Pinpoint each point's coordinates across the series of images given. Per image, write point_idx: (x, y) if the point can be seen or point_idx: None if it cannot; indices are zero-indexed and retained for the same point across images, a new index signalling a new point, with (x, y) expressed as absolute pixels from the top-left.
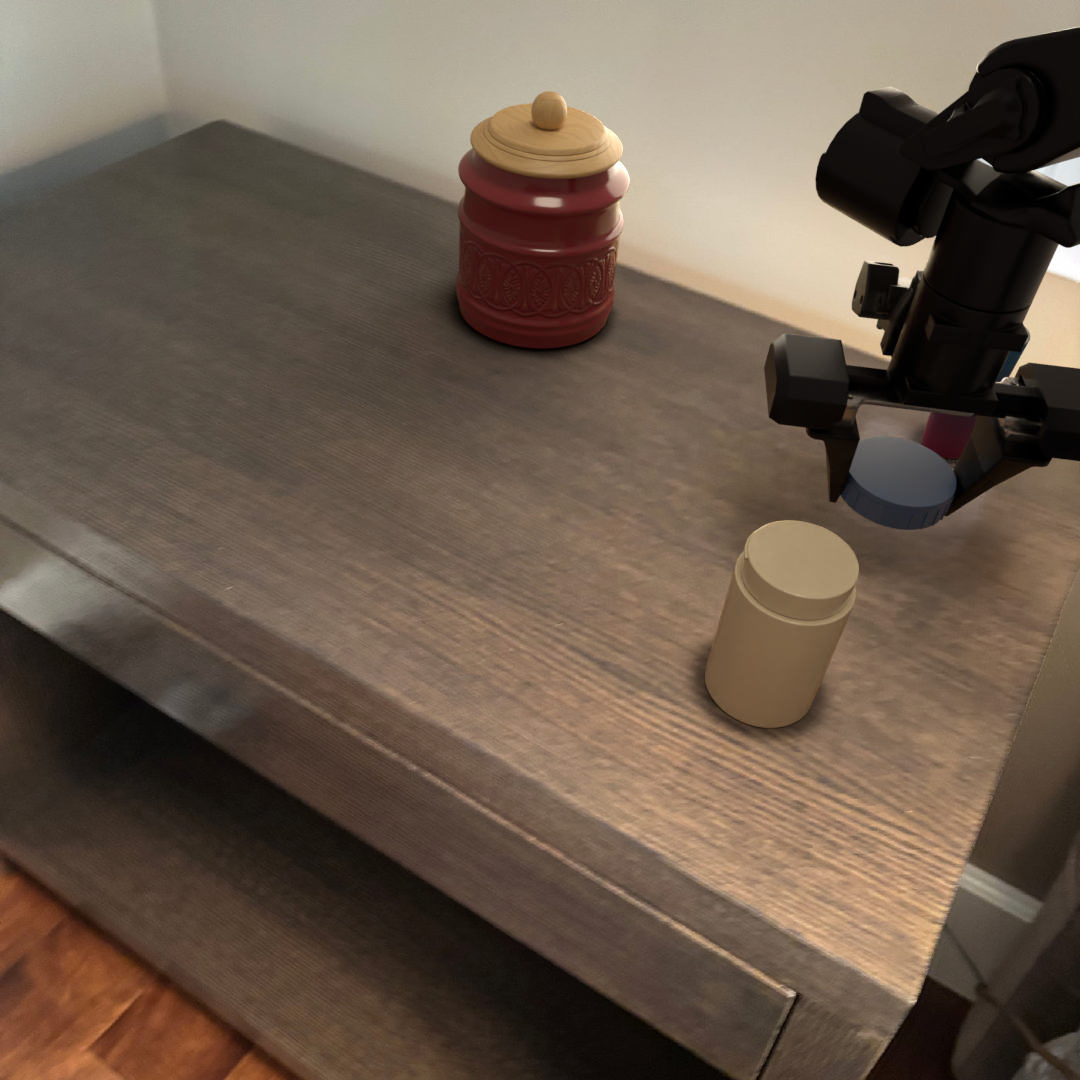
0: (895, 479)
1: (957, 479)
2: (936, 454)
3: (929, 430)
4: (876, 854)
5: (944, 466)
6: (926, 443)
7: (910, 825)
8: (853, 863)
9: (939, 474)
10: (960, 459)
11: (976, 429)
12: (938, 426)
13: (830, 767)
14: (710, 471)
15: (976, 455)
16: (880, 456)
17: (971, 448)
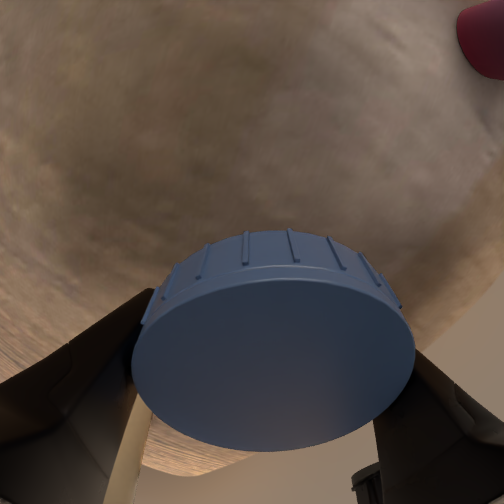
0: (248, 415)
1: (394, 401)
2: (410, 346)
3: (476, 29)
4: (183, 460)
5: (397, 377)
6: (462, 35)
7: (206, 457)
8: (171, 460)
9: (365, 401)
10: (428, 397)
11: (473, 456)
12: (494, 44)
13: (162, 438)
14: (38, 96)
15: (418, 468)
16: (236, 364)
17: (436, 446)
